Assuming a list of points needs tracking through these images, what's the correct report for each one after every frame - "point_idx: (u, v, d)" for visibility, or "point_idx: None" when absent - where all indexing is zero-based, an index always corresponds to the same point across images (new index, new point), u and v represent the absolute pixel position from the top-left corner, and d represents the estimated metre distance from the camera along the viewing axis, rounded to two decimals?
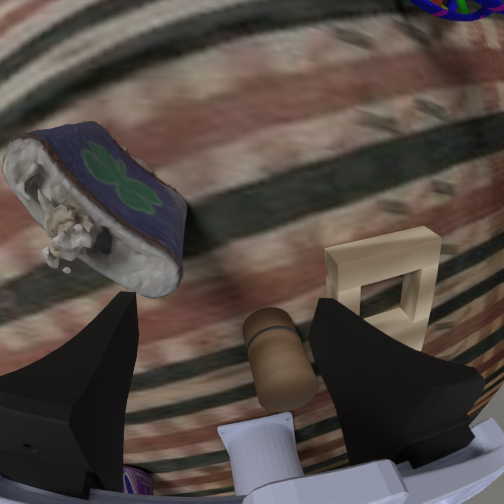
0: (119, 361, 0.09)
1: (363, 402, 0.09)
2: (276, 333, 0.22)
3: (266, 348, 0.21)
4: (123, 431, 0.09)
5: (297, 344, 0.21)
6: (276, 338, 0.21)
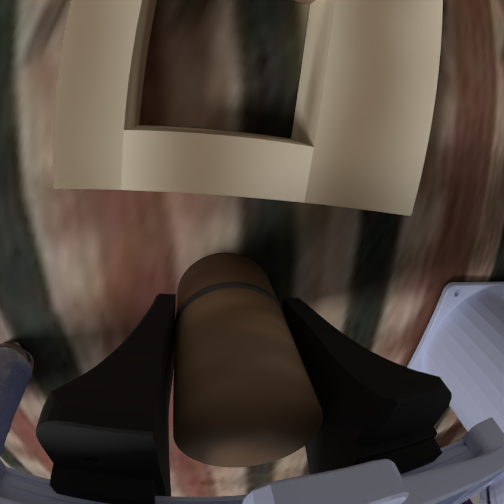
0: (166, 364, 0.09)
1: None
2: (175, 336, 0.11)
3: None
4: (168, 434, 0.09)
5: (193, 327, 0.09)
6: None
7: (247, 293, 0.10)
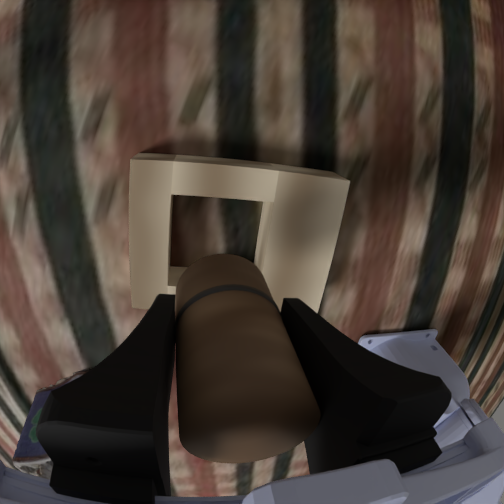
0: (166, 364, 0.09)
1: (320, 408, 0.09)
2: (176, 338, 0.11)
3: None
4: None
5: (194, 331, 0.10)
6: None
7: (245, 296, 0.11)
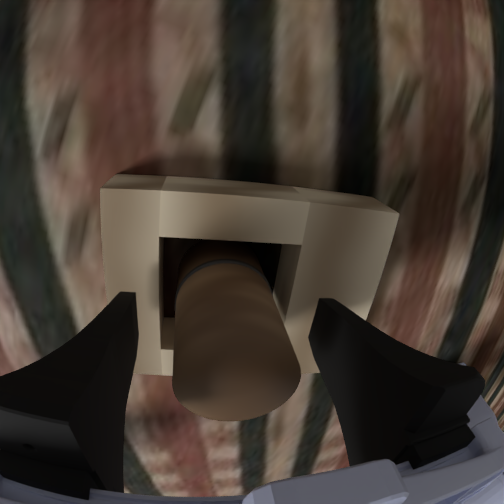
0: (119, 361, 0.09)
1: (363, 402, 0.09)
2: (176, 306, 0.12)
3: None
4: (123, 431, 0.09)
5: (191, 294, 0.11)
6: (175, 316, 0.12)
7: (237, 267, 0.12)
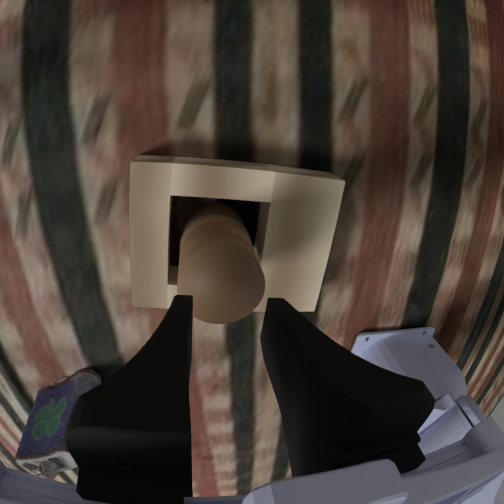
0: None
1: (301, 411, 0.08)
2: (180, 246, 0.18)
3: None
4: None
5: (191, 233, 0.16)
6: None
7: (224, 217, 0.17)
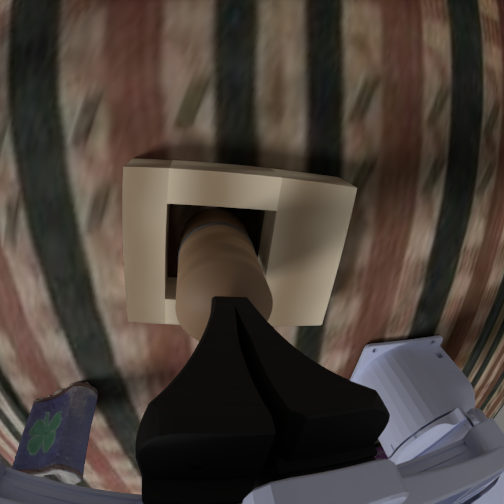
0: None
1: None
2: None
3: None
4: None
5: (191, 245, 0.15)
6: None
7: (226, 227, 0.16)
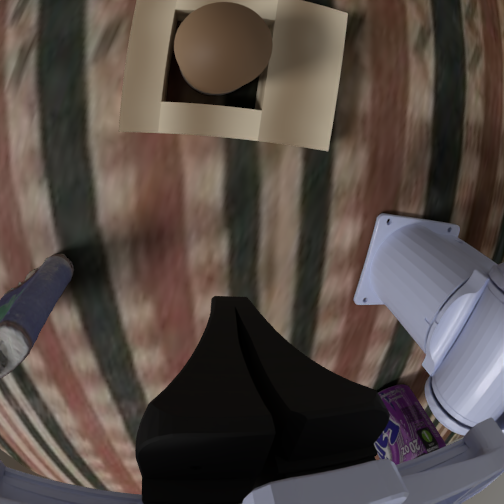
0: None
1: None
2: None
3: None
4: None
5: None
6: None
7: None
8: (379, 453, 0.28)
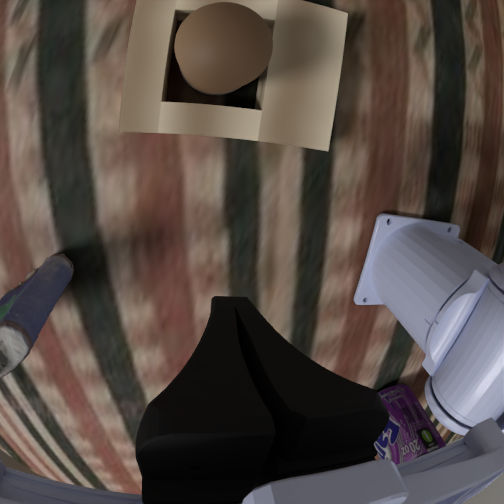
0: None
1: None
2: None
3: None
4: None
5: None
6: None
7: None
8: (379, 453, 0.28)
